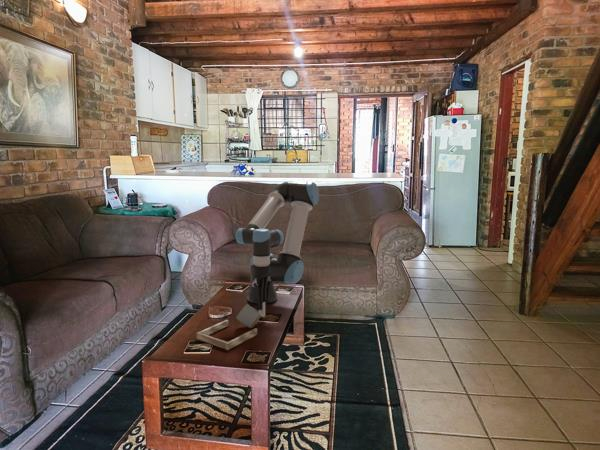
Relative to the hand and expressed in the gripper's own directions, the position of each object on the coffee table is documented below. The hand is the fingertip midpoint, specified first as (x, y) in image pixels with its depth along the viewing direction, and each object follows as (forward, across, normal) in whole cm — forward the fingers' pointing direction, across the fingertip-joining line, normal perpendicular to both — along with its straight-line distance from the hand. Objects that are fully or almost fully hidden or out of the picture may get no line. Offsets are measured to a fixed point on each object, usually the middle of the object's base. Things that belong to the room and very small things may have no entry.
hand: (261, 316), depth 185 cm
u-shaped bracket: (+2, +22, 0) cm, 22 cm away
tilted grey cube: (+2, +8, 0) cm, 8 cm away
